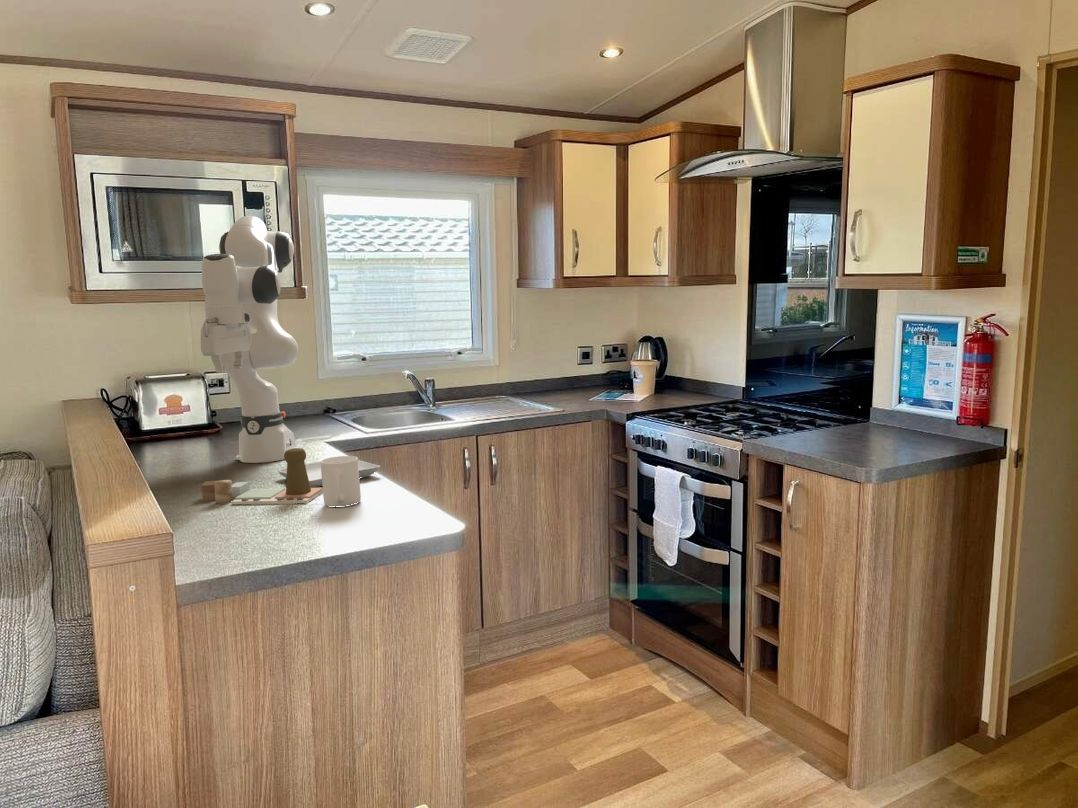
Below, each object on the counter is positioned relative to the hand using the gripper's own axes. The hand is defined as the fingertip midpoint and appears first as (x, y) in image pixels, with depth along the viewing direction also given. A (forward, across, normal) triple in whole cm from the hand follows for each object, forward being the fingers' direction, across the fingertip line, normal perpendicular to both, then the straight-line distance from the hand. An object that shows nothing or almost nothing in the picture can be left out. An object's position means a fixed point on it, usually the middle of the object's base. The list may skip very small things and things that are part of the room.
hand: (229, 370), depth 208 cm
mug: (+31, -20, -35) cm, 51 cm away
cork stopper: (+31, -15, -3) cm, 35 cm away
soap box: (+31, -9, -4) cm, 33 cm away
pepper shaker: (+30, -11, -21) cm, 38 cm away
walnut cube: (+31, -11, +2) cm, 33 cm away
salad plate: (+32, +8, -21) cm, 39 cm away
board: (+31, -12, -16) cm, 37 cm away
